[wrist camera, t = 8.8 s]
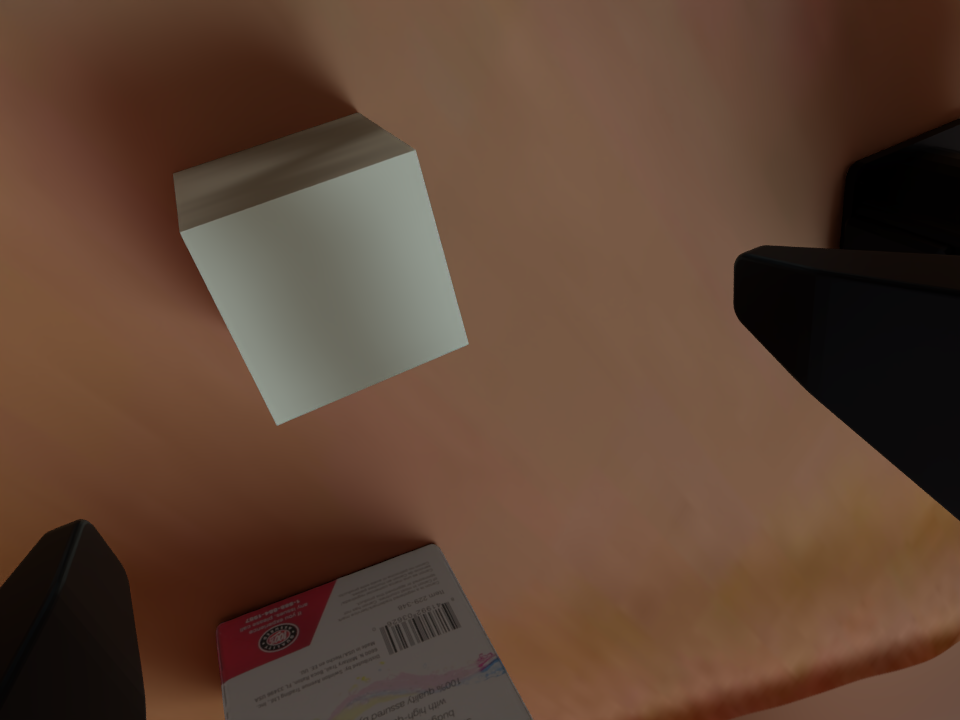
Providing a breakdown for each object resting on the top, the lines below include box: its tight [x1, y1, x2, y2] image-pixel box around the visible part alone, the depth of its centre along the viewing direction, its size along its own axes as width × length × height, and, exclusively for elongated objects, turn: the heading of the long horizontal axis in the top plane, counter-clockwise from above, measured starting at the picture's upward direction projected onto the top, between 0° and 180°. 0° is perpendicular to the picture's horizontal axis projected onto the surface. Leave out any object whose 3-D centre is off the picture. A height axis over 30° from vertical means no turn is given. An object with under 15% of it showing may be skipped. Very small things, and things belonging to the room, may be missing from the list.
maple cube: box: [173, 113, 468, 425], centre depth 17 cm, size 5×5×5 cm
